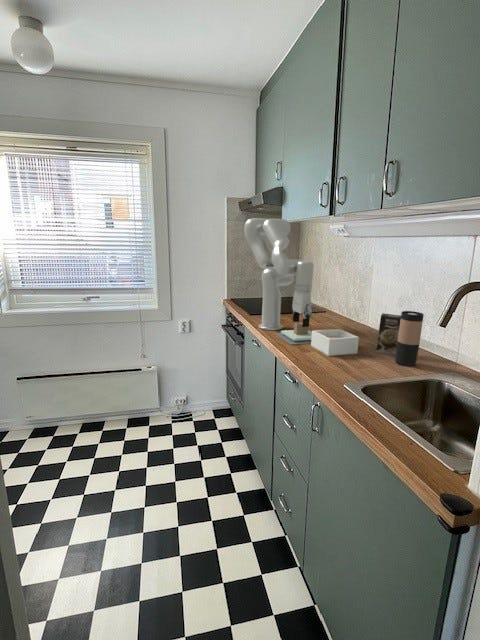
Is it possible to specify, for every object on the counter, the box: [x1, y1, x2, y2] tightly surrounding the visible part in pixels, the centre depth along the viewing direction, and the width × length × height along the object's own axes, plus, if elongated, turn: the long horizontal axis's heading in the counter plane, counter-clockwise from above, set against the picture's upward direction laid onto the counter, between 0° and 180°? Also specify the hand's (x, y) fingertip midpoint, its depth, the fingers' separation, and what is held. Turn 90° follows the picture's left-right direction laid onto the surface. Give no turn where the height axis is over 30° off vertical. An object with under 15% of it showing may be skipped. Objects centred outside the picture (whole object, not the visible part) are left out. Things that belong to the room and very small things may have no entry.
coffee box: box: [375, 312, 401, 356], centre depth 144 cm, size 9×6×16 cm
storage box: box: [310, 328, 360, 357], centre depth 147 cm, size 14×14×7 cm
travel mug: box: [395, 310, 425, 367], centre depth 131 cm, size 8×8×20 cm
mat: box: [274, 332, 311, 346], centre depth 164 cm, size 18×18×1 cm
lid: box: [280, 322, 312, 341], centre depth 163 cm, size 14×14×7 cm
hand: (300, 324), depth 162 cm, fingers open, 9 cm apart
